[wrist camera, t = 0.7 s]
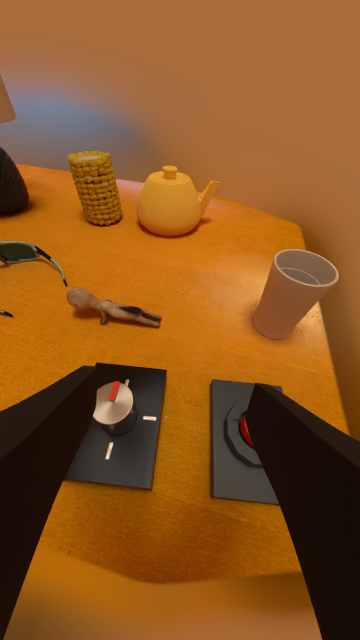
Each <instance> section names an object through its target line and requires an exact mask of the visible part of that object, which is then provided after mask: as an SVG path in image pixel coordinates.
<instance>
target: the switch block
mask: <svg viewBox="0 0 360 640" xmlns="http://www.w3.org/2000/svg"><path fill="white" fill-rule="evenodd" d="M254 385H255V384H252V383H243V382H233V381H223V380H214V379H212V382H211V385H210V416H211V497H212V498H221V499H230V500H239V501H248V502H257V503H265V504H274V505H279V502H278V500H277V497H276V495H275V493H274V490H273V488H272V486H271V484H270V482H269V479H268V477H267V475H266V473H265V471H264V468H263V466H262V464H261V462H260V460H259V457H258V455H257V453H256V451H255V448H254V447H252V446H251V445H249V444H248V443H247V442H246V441H245V439H244V438H243V436H242V434H241V430H240V423H241V420H242V418H243V417H244V415H245V414H246V412H247V409H248V405H249V402H250V398H251V395H252V391H253V388H254ZM270 386H271V385H270ZM271 387H273V388H275V389H276V390H278V391H280V392H281V393H283V392H282V387H281V386H271Z"/></svg>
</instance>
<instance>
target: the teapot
mask: <svg viewBox="0 0 360 640" xmlns="http://www.w3.org/2000/svg"><path fill="white" fill-rule="evenodd" d="M218 184H219V183H218V181H213V180H211V181H210V183H209V184H208V186H207V187H206V188H205V190H204V191H203V193H202V194H201V195H200V196H199V197H198V194H197V192H196V189H195V187H194V185H193V183H192V181H191V179H190V178H189V177H188V176H187V175H185V174H183V173H179V172H177V168H176V167H174V166H164V167H163V171H160V172H155V173H152V174H151V175H150V176H149V177H148V178H147V180H146V182H145V184H144V186H143V188H142V190H141V192H140V195H139V198H138V203H137V217H138V219H139V221H140V223H141V224H142V225H143V226H144V227H145V228H146V229H147V230H149V231H150V232H153V233H155V234H158V235H164V236H178V235H183V234H186V233H188V232H190V231H191V230H192V229H193V228H194V227H195V226H196V225H197V224H198V223H199V221H200V219H201V216H203V214H204V212H205V210H206V208H207V206H208V204H209V202H210V200H211V198H212V196H213V194H214V192H215V190H216V188H217V186H218Z"/></svg>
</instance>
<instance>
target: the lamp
mask: <svg viewBox="0 0 360 640" xmlns="http://www.w3.org/2000/svg"><path fill="white" fill-rule="evenodd" d="M14 119H16V115H15V112H14V110H13V107H12V104H11V102H10V99H9V96H8V94H7V91H6V89H5V86H4V83H3V81H2V78H1V75H0V123H5V122H9V121H12V120H14ZM28 200H29V194H28V191H27V187H26V185H25V183H24V180H23V178H22V176H21V175H20V172H19V170H18V169H17V167H16V165H15V164H14V162H13V161H12V159H11V158H10V157H9V156H8V154H7V153H6V152H5V151H4V150H3V149H2V148H1V147H0V215H2V214H3V215H4V214H11V213H16V212H19V211H21V210H22V209H24V208H25V206H26V205H27V203H28Z"/></svg>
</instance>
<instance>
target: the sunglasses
mask: <svg viewBox="0 0 360 640" xmlns="http://www.w3.org/2000/svg"><path fill="white" fill-rule="evenodd" d="M39 254H40V255H43V256H44V257H45V258H46V259H48V260H49V261H50V262H52V263H53V264H55V265H56V266H57V268H58V269H59V270H60V272H61V274H62V277H63V281H64V283H65V285H67V284H66V281H65V278H64V274H63V271H62V269H61V268H60V266H59V265H58V263H57V262H56V261H55V260H54V259H52V258H51V257H50V256H49V255H47V254H46V253H45V252H44V251H42V250H41V249H40V248H38V247H36V245H35V244H32V243H29V242H21V241H2V242H0V260H1V261H2V262H3V263H5V264H8V263H18V262H23V261H30V260H37V259H38V258H39V257H40V256H39ZM0 313H1V314H5V315H8V316H10V317H12V316H13V315H12V314H10V313H8V312H5V311H1V310H0Z"/></svg>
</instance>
